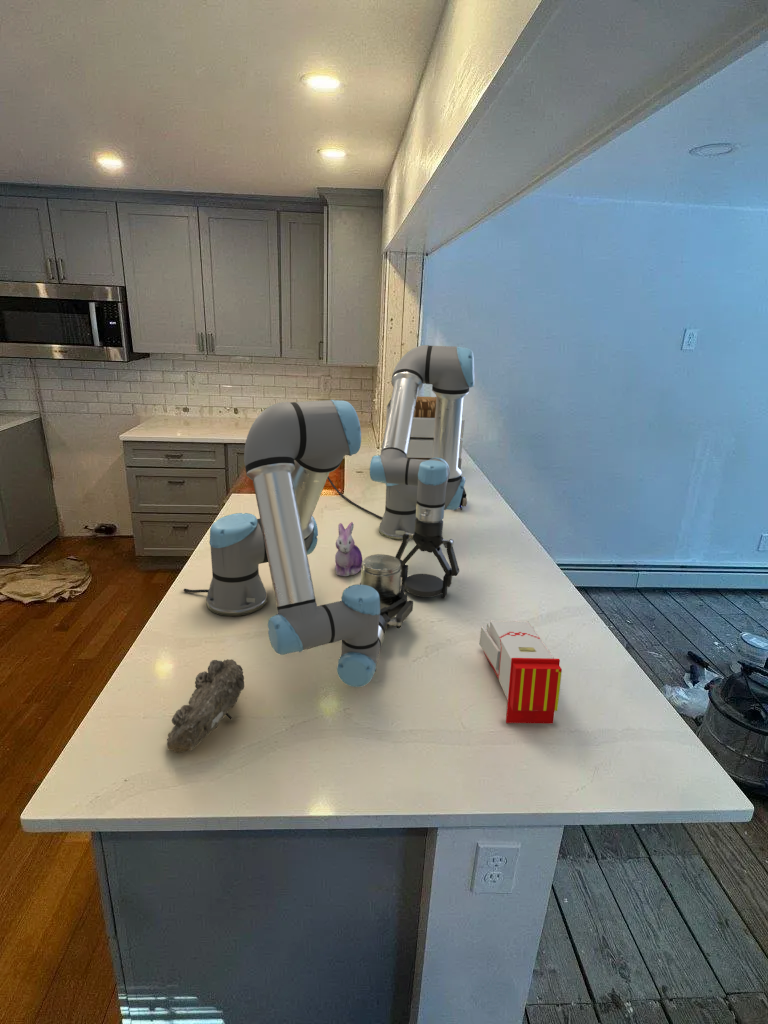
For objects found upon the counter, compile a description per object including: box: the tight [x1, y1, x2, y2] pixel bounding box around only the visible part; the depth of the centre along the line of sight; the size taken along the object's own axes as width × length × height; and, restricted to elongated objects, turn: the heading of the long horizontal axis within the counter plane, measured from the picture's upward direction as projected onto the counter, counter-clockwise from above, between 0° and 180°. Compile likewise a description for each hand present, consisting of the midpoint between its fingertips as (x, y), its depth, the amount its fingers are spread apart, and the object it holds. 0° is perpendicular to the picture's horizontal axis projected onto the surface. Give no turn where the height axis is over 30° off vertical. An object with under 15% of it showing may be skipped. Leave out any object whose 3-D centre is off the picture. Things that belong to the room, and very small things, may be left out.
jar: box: [360, 553, 402, 629], centre depth 142 cm, size 10×10×16 cm
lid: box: [404, 573, 443, 598], centre depth 159 cm, size 11×11×2 cm
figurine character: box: [459, 488, 468, 511], centre depth 230 cm, size 7×8×15 cm
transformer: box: [385, 395, 465, 471], centre depth 268 cm, size 34×33×41 cm
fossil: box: [166, 658, 245, 754], centre depth 106 cm, size 22×10×15 cm
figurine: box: [334, 521, 363, 577], centre depth 168 cm, size 9×10×15 cm
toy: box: [478, 620, 563, 725], centre depth 121 cm, size 12×13×30 cm
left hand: (382, 587), depth 147 cm, fingers closed on jar, 10 cm apart
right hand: (423, 591), depth 159 cm, fingers closed on lid, 11 cm apart
